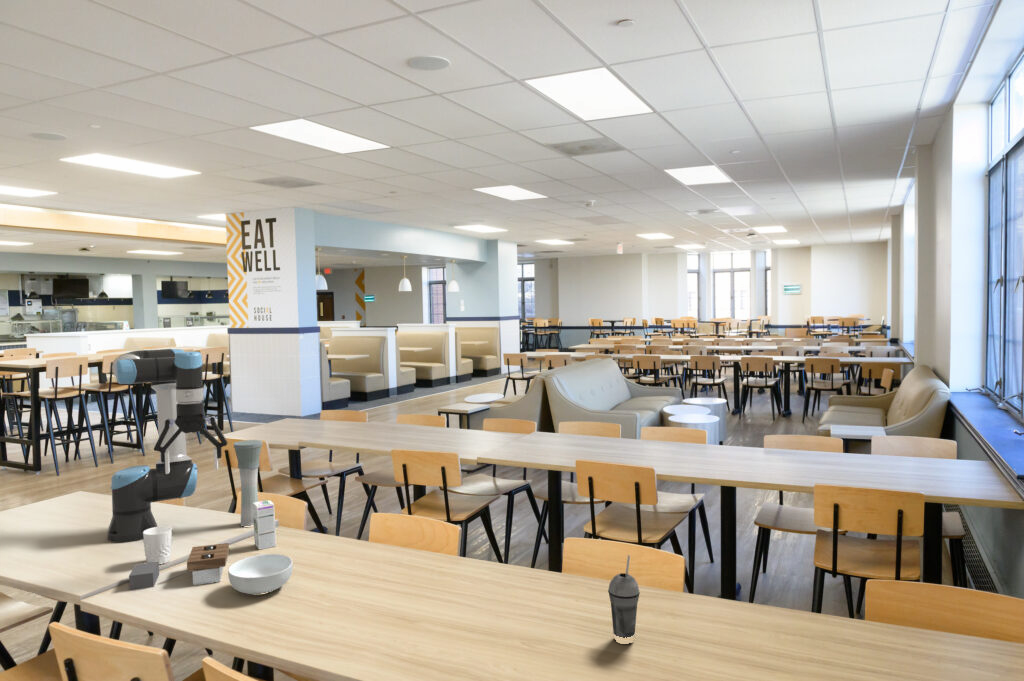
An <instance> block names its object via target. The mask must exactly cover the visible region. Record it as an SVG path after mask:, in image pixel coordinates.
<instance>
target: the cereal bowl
mask: <svg viewBox="0 0 1024 681" xmlns="http://www.w3.org/2000/svg"><path fill="white" fill-rule="evenodd" d="M293 567H294V563H293V559H292V558H291V557H290V556H288V555H285V554H280V553H262V554H257V555H251V556H248V557H243V558H242V559H239V560H237V561H235V562H234V563H232V564H231V565H230V566H229V567H228V572H227V574H228V581H229V583H230V585H231V587H232V588H233V589H235V591H238V592H240V593H243V594H248V595H251V594H261V593H266V592H270V591H272V590H274V591H275V590H277V589H279V588H281V587H282V586H284V585H285V584H287V583H288V581H289V580H290V578H291V577H292V574H293V570H294V568H293ZM272 592H273V591H272ZM270 593H271V592H270Z"/></svg>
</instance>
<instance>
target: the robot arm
mask: <svg viewBox="0 0 1024 681" xmlns="http://www.w3.org/2000/svg"><path fill="white" fill-rule="evenodd" d="M203 364H204V363H203V357H202V353H201V352H200V351H185V350H184V349H180V348H166V349H165V348H163V349H162V348H161V349H143V350H142V349H139V350H133V351H129V352H126V353H123V354H120V355H119V356H117V357H116V358H114V360H113V362H112V365H111V372H112V373H113V375H114V376H115V379H116V382H117V383H118V384H119V385H133V384H144V383H150V388H151V389H153V390H154V391H155V397H156V409H157V410H156V411H157V412H156V414H157V427H158V428H157V429H158V440H157V441H156V443H155V446H154V447H153V451H155V452H159V459H157V461H156V462H155V467H154V468H151V467H150V466H149V465H148V464H147V465H145V464H143V465H141V464H140V465H134V466H129V467H125V468H122V469H121V470H118V471H116V472H115V473H113V475H112V476H111V485H110V489H111V506H112V507H111V508H112V515H111V519H110V523H109V525H108V529H107V536H106V537H107V540H108V541H109V542H113V543H115V542H116V543H125V542H134V541H140V540H144V539H143V532H144V531H145V530H147V529H150V528H153V527H158V524H157V522H156V521H157V520H156V519H155V517H154V515H153V512H152V506H151V505H152V503H157V502H162V501H163V502H164V501H171V500H176V499H179V500H181V499H182V498H188V497H191V496H192V495H194V493H195V492H196V488H197V483H198V465H197V464H196V463H195V462H192V461H193V460H192V457H190V456H189V455H188V454H187V441H186V434H189V433H192V434H194V433H195V434H196V433H198V432H199V433H200V434H202V435H203V437H205V438H206V439H207V440H208V441H209V442H210V443H211V444H213V446H214V448H213V453H214V454H213V459H214V462H213V463H214V471H217V470H218V469H219V459H222V448H223V447H226V446H227V445H228V443H229V442H228V441H227V438H226V437H225V435H224V434H223V432H222V430H221V429H220V427H219V425H218V424H217V422H216V416H215V415H211V416H209V417H205V409H204V405H205V404H204V402H203V400H204V385H203V384H204V383H203V382H204V381H203ZM206 422H207V423H208V425H211V428H212V429H213V432H215V434H216V435H217V438H218V439H217V438H216V437H215V436H214V435H213V434H211V433H210V432H209V430H207V428H205V427H204V425H205V423H206Z"/></svg>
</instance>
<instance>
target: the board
mask: <svg viewBox="0 0 1024 681" xmlns="http://www.w3.org/2000/svg"><path fill="white" fill-rule="evenodd" d="M207 546H213V550H208V551H207ZM229 553H230V543H229V542H225V543H216V544H208V545H206V544H205V545H198V546H192V549H191V551H190V554H189V556H188V558H187V561H186V571H187V572H191V571H192V572H193V570H200V569H208V568H216V567H223V568H224V567H226V565H227V561H228V556H229ZM205 554H211V558H208V559H204V555H205Z"/></svg>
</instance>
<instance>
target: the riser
mask: <svg viewBox="0 0 1024 681" xmlns="http://www.w3.org/2000/svg"><path fill="white" fill-rule="evenodd" d="M159 576H160V565H159V562H150V563H146V562H143V563H136V564H135V565H134V567H133V568H132V570H131V572H130V573H129V575H128V581H129V582H128V583H129V586H128V587H129V590H130V591H131V590H132V591H133V590H140V589H146V588H154V586H155V585H156V583H157V580H158V578H159Z"/></svg>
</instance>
